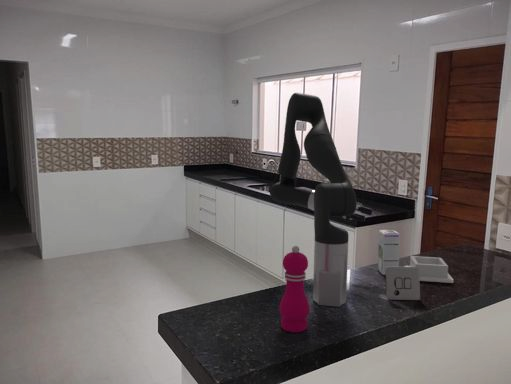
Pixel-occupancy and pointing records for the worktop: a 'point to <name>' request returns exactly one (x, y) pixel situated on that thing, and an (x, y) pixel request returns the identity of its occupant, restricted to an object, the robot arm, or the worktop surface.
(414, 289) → the electrical switch
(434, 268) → the socket plate
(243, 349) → the worktop surface
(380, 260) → the syrup box
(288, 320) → the pepper mill
